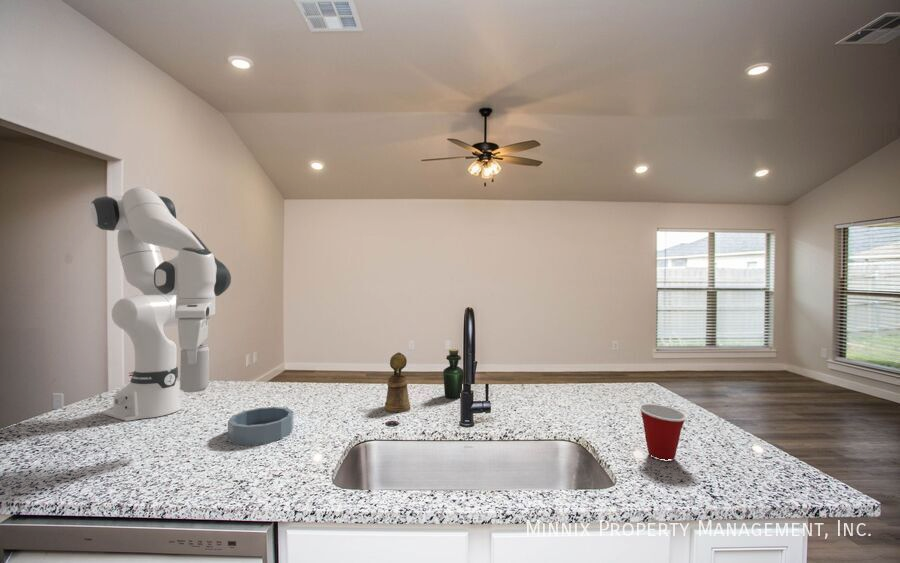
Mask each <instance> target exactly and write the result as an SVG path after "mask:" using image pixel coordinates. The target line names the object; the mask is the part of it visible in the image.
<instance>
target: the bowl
mask: <svg viewBox="0 0 900 563" xmlns="http://www.w3.org/2000/svg"><path fill="white" fill-rule="evenodd" d="M293 430H294V411H293V409H292V410H291V409H290V408H288V407H284V406H283V407H280V406H265V407H257V408H252V409H246V410H243V411H241V412H239V413H238V412H237V413H236V414H234V415H232V416H231V417H230V418H229V419H228V420H227V440H228V439H229V440H230V441H231V442H232V443H235V444H234V445H237V444H241V445H240V446H244V445H250V446H256V445H255V444H261V445H266V444H265V443H267V444H270V443H269V442H271V443H273V442H272V441H274V442H277V441H276V440H278V441H280V440H279V439H281V440H283V439H284V438H283V437H285V436H286V437H288V436H290V435H291V434H292V433H293ZM290 433H291V434H290ZM289 434H290V435H289ZM287 435H288V436H287ZM286 437H285V438H286ZM282 438H283V439H282ZM229 440H228V441H229ZM230 441H229V442H230ZM231 442H230V443H231ZM232 443H231V444H232Z"/></svg>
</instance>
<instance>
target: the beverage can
mask: <svg viewBox="0 0 900 563" xmlns="http://www.w3.org/2000/svg"><path fill="white" fill-rule="evenodd" d="M179 371H180V372H179V373H180V378H179V379H180V382H179V388H180V391H183V392H184V393H199V392H204V391H205V390H206V389H207V388H209V386H210V348H209V344H208V343H203V344H201V345H200V346H199V347H198V348H197V362H196V363H195V364H188V355H187V349H180V368H179Z"/></svg>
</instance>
